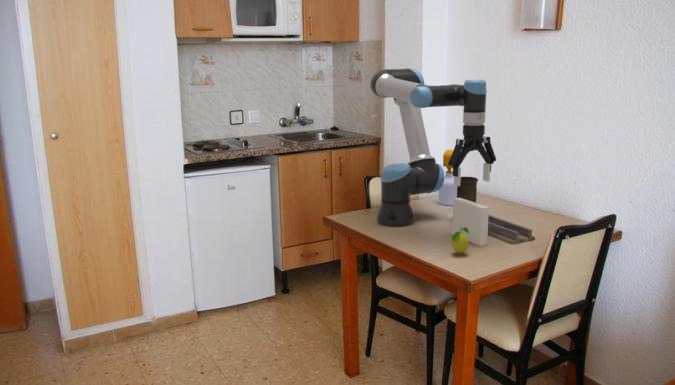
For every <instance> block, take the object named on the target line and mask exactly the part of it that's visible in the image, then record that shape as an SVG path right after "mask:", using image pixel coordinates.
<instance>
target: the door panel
mask: <svg viewBox="0 0 675 385" xmlns="http://www.w3.org/2000/svg"><path fill="white" fill-rule="evenodd" d="M489 212H490V207H489V206H487V205H484V204H481V203H477V202H476V203H475V202H472V201H469V200H466V199H462V198H454V199H453V205H452V228H451V230H452V231H451V233H452V236H453V235H454V233H456V232H459V231H460V230H461V231H460V232H461V233H463V234H465V235H466V236H467V238H468V242H469V241H470V243H473V244H475V245H477V246H479V247H483V246H487V245H488V236H489V235H488V216H489V215H490V213H489ZM464 227H467V228H468V231H469V233H466V232H464V231H463V230H462V229H463V228H464ZM461 228H462V229H461Z"/></svg>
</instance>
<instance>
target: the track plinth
mask: <svg viewBox="0 0 675 385" xmlns="http://www.w3.org/2000/svg"><path fill="white" fill-rule="evenodd" d="M488 236H490V237H493V238H495V239H497V240H500V241H502V242H506V243H508V244H510V245H516V244H521V243H525V242H529V241H530V242H531V241H534V240H536V237H535V235H534V236H533V229H531V228H528V227H525V226H522V225H520V224H516V223H514V222H510V221H507V220H505V219H501V218H500V217H496V216H493V215H490V214H489V216H488Z"/></svg>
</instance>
